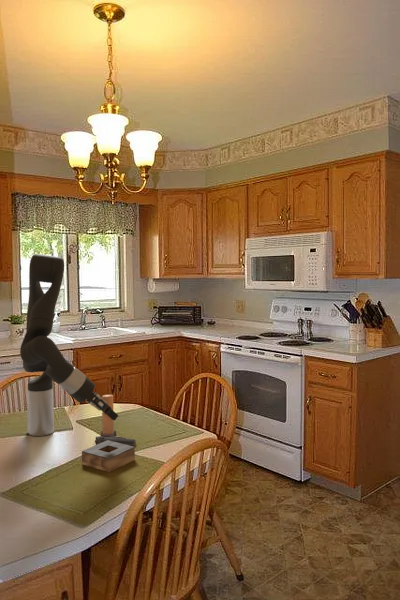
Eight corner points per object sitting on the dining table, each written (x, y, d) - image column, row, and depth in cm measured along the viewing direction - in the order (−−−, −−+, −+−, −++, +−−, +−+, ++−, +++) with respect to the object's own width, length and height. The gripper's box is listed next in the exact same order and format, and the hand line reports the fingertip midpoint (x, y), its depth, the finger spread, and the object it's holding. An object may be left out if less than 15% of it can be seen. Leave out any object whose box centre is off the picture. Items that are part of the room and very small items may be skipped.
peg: (100, 433, 158) (99, 396, 157) (107, 430, 161) (107, 394, 160) (108, 434, 156) (107, 397, 155) (116, 431, 159) (115, 395, 158)
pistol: (142, 438, 185) (134, 448, 173) (102, 435, 186) (92, 446, 175) (142, 430, 185) (134, 440, 173) (103, 427, 186) (92, 437, 174)
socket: (82, 464, 157) (81, 451, 157) (108, 452, 167) (107, 440, 167) (109, 472, 151) (109, 458, 151) (134, 459, 161) (134, 446, 161)
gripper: (91, 378, 148) (129, 412, 154) (78, 371, 160) (114, 402, 167) (74, 398, 145) (114, 431, 152) (62, 389, 158) (99, 420, 164)
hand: (113, 416), depth 159 cm, fingers closed on peg, 3 cm apart
